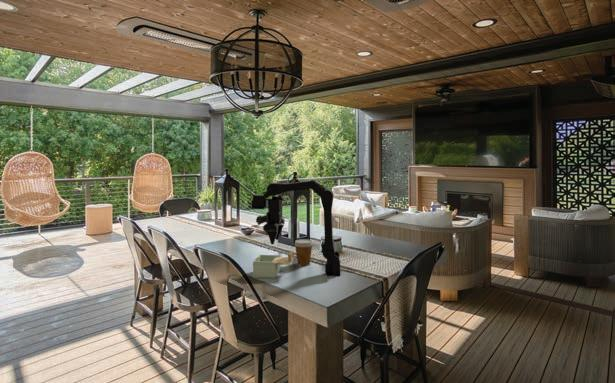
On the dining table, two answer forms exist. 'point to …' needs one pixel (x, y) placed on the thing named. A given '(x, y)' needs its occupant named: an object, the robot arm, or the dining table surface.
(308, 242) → the disposable coffee cup
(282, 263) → the lid
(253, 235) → the dining table surface
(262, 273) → the box
